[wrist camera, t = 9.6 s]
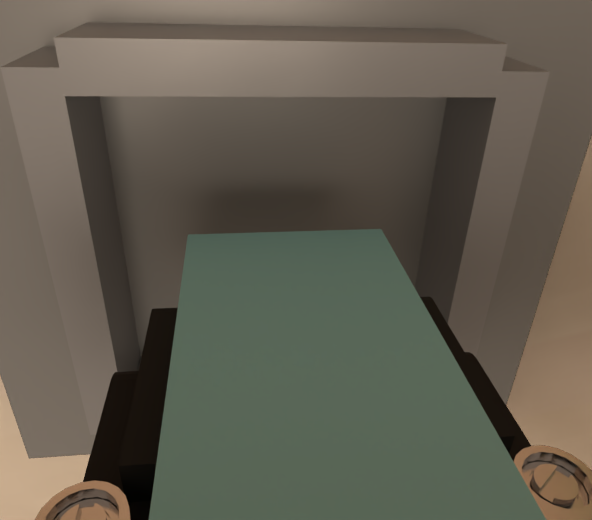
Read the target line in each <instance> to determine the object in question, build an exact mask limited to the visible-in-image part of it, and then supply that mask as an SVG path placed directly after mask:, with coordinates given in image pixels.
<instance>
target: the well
mask: <svg viewBox="0 0 592 520" xmlns="http://www.w3.org/2000/svg"><path fill="white" fill-rule="evenodd" d="M591 135H592V0H0V375H1V378H2V381H3V384H4V387H5V390H6V393H7V396H8V398H9V401H10V404H11V407H12V410H13V413H14V416H15V419H16V422H17V425H18V428H19V431H20V434H21V437H22V439H23V442H24V445H25V448H26V451H27V454H28V457H29V458H43V457H57V456H72V455H86V454H91V451H92V447H93V444H94V440H95V436H96V433H97V429H98V425H99V422H100V418H101V414H102V411H103V407H104V403H105V399H106V396H107V392H108V388H109V385H110V381H111V378H112V376H113V374H114V373H115V372H127V371H139V366H140V362H141V357H142V352H143V347H144V343H145V338H146V333H147V329H148V324H149V319H150V314H151V310H152V309H156V308H178V302H179V295H180V288H181V280H182V273H183V266H184V258H185V251H186V244H187V237H188V235H189V234H223V233H257V232H291V231H325V230H359V229H382V231H383V233H384V235H385V236H386V238H387V240H388V242H389V244H390V245H391V247H392V249H393V251H394V252H395V254H396V256H397V258H398V259H399V261H400V263H401V265H402V266H403V268H404V270H405V272H406V273H407V275H408V277H409V279H410V280H411V282H412V284H413V286H414V288H415V289H416V291H417V293H418V295H419V296H420V297H428V296H429V297H431V298H432V299H433V300H434V302H435V304H436V305H437V307H438V309H439V310H440V312H441V314H442V315H443V317H444V319H445V320H446V322H447V324H448V325H449V327H450V329H451V330H452V332H453V333H454V335H455V337H456V338H457V340H458V342H459V343H460V345H461V347H462V348H463V350H464V352H470V353H472V354H473V355H474V356H475V357H476V358H477V360H478V361H479V363H480V364H481V366H482V368H483V369H484V371H485V373H486V374H487V376H488V377H489V379H490V381H491V382H492V384H493V385H494V387H495V389H496V390H497V392H498V393H499V395H500V397H501V398H502V400H503V401H504V403H505V405H506V404H507V401H508V398H509V395H510V392H511V388H512V385H513V382H514V379H515V376H516V373H517V369H518V366H519V363H520V360H521V357H522V354H523V351H524V347H525V344H526V341H527V338H528V335H529V332H530V328H531V325H532V322H533V319H534V316H535V313H536V309H537V306H538V303H539V300H540V297H541V294H542V290H543V287H544V284H545V281H546V278H547V275H548V271H549V268H550V265H551V262H552V259H553V256H554V252H555V249H556V246H557V243H558V240H559V237H560V233H561V230H562V227H563V224H564V221H565V218H566V214H567V211H568V208H569V205H570V202H571V199H572V195H573V192H574V189H575V186H576V183H577V180H578V177H579V173H580V170H581V167H582V164H583V161H584V158H585V154H586V151H587V148H588V145H589V142H590V139H591Z"/></svg>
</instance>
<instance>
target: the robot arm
mask: <svg viewBox="0 0 592 520" xmlns="http://www.w3.org/2000/svg"><path fill="white" fill-rule="evenodd" d="M420 298H421V300H422V302H423V303H424V305H425V307H426V309H427V310H428V312H429V314H430V316H431V317H432V319H433V321H434V323H435V324H436V326H437V328H438V330H439V332H440V333H441V335H442V337H443V339H444V340H445V342H446V344H447V346H448V347H449V349H450V351H451V353H452V354H453V356H454V358H455V360H456V361H457V363H458V365H459V367H460V369H461V370H462V372H463V374H464V376H465V377H466V379H467V381H468V383H469V384H470V386H471V388H472V390H473V391H474V393H475V395H476V397H477V398H478V400H479V402H480V404H481V405H482V407H483V409H484V411H485V413H486V414H487V416H488V418H489V420H490V421H491V423H492V425H493V427H494V428H495V430H496V432H497V434H498V435H499V437H500V439H501V441H502V442H503V444H504V446H505V448H506V450H507V451H508V453H509V455H510V457H511V458H512V460H513V462H514V464H515V465H516V467H517V469H518V471H519V472H520V474H521V476H522V478H523V479H524V481H525V483H526V485H527V486H528V488H529V490H530V492H531V494H532V495H533V497H534V499H535V501H536V502H537V504H538V506H539V508H540V509H541V511H542V513H543V515H544V516H545V518H546V520H592V471H591V470H590V469H589V468H588V467H587V466H586V465H585V464H584V463H583V462H582V461H580V460H579V459H577V458H576V457H574V456H573V455H572V454H569V453H567V452H565V451H563V450H560V449H558V448H554V447H550V446H545V445H538V446H531V445H530V443H529V442H528V440H527V438H526V437H525V435H524V434H523V432H522V430H521V429H520V427H519V426H518V424H517V422H516V421H515V419H514V418H513V416H512V414H511V413H510V411H509V409H508V408H507V406H506V405H505V403H504V401H503V400H502V398H501V397H500V395H499V393H498V392H497V390H496V389H495V387H494V385H493V384H492V382H491V381H490V379H489V377H488V376H487V374H486V373H485V371H484V369H483V368H482V366H481V364H480V363H479V361H478V360H477V358H476V357H475V356H474V355H473V354H472V353H470V352H464V350H463V348H462V347H461V345H460V343H459V342H458V340H457V338H456V337H455V335H454V333H453V332H452V330H451V329H450V327H449V325H448V324H447V322H446V320H445V319H444V317H443V315H442V314H441V312H440V310H439V309H438V307H437V305H436V304H435V302H434V300H433V299H432V298H431V297H429V296H428V297H420ZM177 310H178V308H156V309H152V310H151V314H150V319H149V324H148V329H147V333H146V338H145V343H144V347H143V352H142V357H141V362H140V366H139V371H127V372H115V373H114V374H113V376H112V378H111V381H110V385H109V388H108V392H107V396H106V399H105V403H104V407H103V411H102V414H101V418H100V422H99V425H98V429H97V433H96V436H95V440H94V444H93V447H92V451H91V455H90V458H89V462H88V466H87V469H86V473H85V477H84V480H83V482H80V483H78V484H75V485H73V486H70V487H68V488H65V489H64V490H62V491H61V492H59V493H58V494H56V495H55V496H53V497H52V498H51V499H50V500H49V501H48V502H47V503H46V504H45V505H44V506H43V507H42V508H41V510H40V512H39V513H38V515H37V517H36V518H35V520H149V514H150V506H151V499H152V492H153V484H154V477H155V470H156V463H157V455H158V448H159V441H160V433H161V426H162V419H163V412H164V404H165V397H166V390H167V382H168V375H169V368H170V361H171V353H172V346H173V339H174V331H175V324H176V317H177Z"/></svg>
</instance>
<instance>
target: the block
mask: <svg viewBox="0 0 592 520" xmlns="http://www.w3.org/2000/svg"><path fill="white" fill-rule="evenodd" d="M149 520H546V518H545V516H544V515H543V513H542V511H541V509H540V508H539V506H538V504H537V502H536V501H535V499H534V497H533V495H532V494H531V492H530V490H529V488H528V486H527V485H526V483H525V481H524V479H523V478H522V476H521V474H520V472H519V471H518V469H517V467H516V465H515V464H514V462H513V460H512V458H511V457H510V455H509V453H508V451H507V450H506V448H505V446H504V444H503V442H502V441H501V439H500V437H499V435H498V434H497V432H496V430H495V428H494V427H493V425H492V423H491V421H490V420H489V418H488V416H487V414H486V413H485V411H484V409H483V407H482V405H481V404H480V402H479V400H478V398H477V397H476V395H475V393H474V391H473V390H472V388H471V386H470V384H469V383H468V381H467V379H466V377H465V376H464V374H463V372H462V370H461V369H460V367H459V365H458V363H457V361H456V360H455V358H454V356H453V354H452V353H451V351H450V349H449V347H448V346H447V344H446V342H445V340H444V339H443V337H442V335H441V333H440V332H439V330H438V328H437V326H436V324H435V323H434V321H433V319H432V317H431V316H430V314H429V312H428V310H427V309H426V307H425V305H424V303H423V302H422V300H421V298H420V296H419V295H418V293H417V291H416V289H415V288H414V286H413V284H412V282H411V280H410V279H409V277H408V275H407V273H406V272H405V270H404V268H403V266H402V265H401V263H400V261H399V259H398V258H397V256H396V254H395V252H394V251H393V249H392V247H391V245H390V244H389V242H388V240H387V238H386V236H385V235H384V233H383V231H382V229H359V230H325V231H291V232H257V233H223V234H189V235H188V237H187V244H186V251H185V258H184V266H183V273H182V280H181V288H180V295H179V302H178V310H177V317H176V324H175V331H174V339H173V346H172V353H171V361H170V368H169V375H168V382H167V390H166V397H165V404H164V412H163V419H162V426H161V433H160V441H159V448H158V455H157V463H156V470H155V477H154V484H153V492H152V499H151V506H150V514H149Z"/></svg>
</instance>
